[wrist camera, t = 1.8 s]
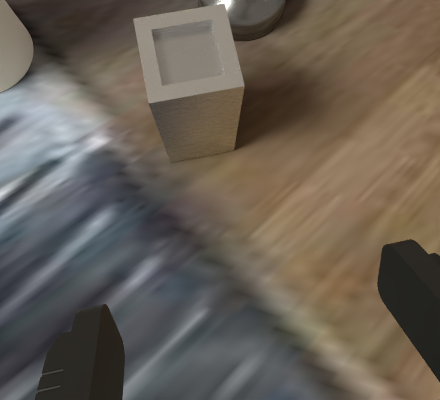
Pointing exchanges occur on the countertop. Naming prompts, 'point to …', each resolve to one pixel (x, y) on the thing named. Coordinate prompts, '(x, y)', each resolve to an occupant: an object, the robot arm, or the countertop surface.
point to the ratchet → (250, 16)
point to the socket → (192, 80)
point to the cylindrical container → (13, 48)
